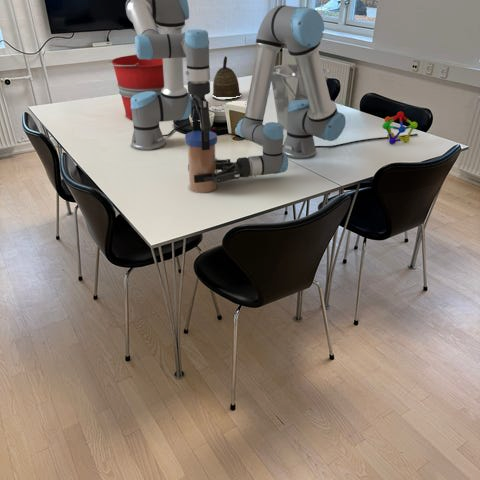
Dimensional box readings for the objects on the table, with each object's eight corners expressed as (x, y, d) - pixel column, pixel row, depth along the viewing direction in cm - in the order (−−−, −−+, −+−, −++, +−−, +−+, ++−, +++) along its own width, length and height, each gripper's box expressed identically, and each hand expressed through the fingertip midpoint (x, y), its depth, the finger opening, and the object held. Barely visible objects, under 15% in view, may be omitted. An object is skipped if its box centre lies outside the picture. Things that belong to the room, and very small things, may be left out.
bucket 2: (296, 138, 215) (301, 78, 201) (255, 124, 234) (256, 68, 219) (335, 125, 232) (342, 70, 217) (294, 113, 251) (297, 61, 236)
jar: (186, 183, 171) (183, 133, 160) (211, 180, 174) (210, 130, 163) (194, 194, 163) (191, 142, 152) (219, 190, 166) (218, 139, 155)
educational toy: (377, 146, 209) (379, 114, 202) (384, 138, 219) (386, 107, 211) (411, 149, 202) (415, 116, 195) (417, 141, 212) (420, 109, 204)
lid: (181, 138, 162) (181, 132, 160) (211, 135, 165) (211, 128, 164) (190, 149, 153) (189, 142, 151) (221, 145, 156) (221, 138, 155)
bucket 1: (125, 105, 263) (118, 51, 247) (184, 106, 262) (180, 52, 246) (109, 123, 234) (99, 63, 218) (175, 124, 233) (170, 64, 217)
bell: (227, 105, 294) (202, 96, 282) (238, 66, 289) (213, 55, 277) (243, 108, 280) (217, 98, 268) (255, 66, 275) (229, 55, 263)
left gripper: (179, 74, 156) (183, 135, 168) (196, 90, 137) (199, 156, 149) (200, 73, 158) (202, 132, 170) (219, 88, 139) (221, 154, 151)
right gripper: (257, 187, 162) (198, 195, 157) (239, 165, 181) (186, 171, 175) (258, 168, 158) (197, 176, 153) (239, 147, 177) (184, 153, 171)
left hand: (201, 144), depth 159 cm, fingers closed on lid, 11 cm apart
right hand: (191, 173), depth 164 cm, fingers closed on jar, 10 cm apart
